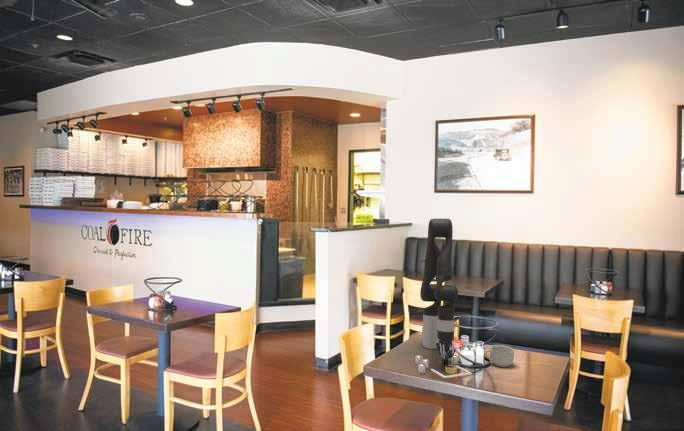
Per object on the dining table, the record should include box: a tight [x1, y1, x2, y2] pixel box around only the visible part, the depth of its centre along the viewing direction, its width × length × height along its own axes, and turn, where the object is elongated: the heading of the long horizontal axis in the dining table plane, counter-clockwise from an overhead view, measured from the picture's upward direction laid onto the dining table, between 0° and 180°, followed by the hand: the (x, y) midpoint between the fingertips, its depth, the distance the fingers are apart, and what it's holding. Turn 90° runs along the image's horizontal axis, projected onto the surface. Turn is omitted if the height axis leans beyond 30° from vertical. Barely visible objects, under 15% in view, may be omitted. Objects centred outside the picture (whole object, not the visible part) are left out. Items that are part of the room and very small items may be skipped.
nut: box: [444, 364, 458, 375], centre depth 218 cm, size 6×5×3 cm
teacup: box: [483, 344, 515, 368], centre depth 228 cm, size 14×11×8 cm
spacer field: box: [414, 354, 458, 376], centre depth 225 cm, size 14×28×4 cm, turn 112°
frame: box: [429, 364, 473, 380], centre depth 217 cm, size 11×14×1 cm
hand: (445, 366), depth 221 cm, fingers closed
